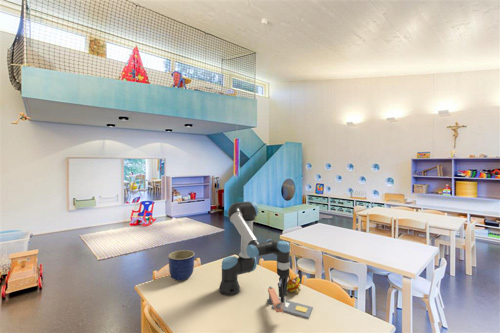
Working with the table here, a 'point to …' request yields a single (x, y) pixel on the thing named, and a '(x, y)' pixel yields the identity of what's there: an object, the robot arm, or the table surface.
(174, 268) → the planter
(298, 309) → the label board
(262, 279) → the table surface
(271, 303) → the pivot pedestal
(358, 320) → the table surface
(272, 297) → the swing arm
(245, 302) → the table surface
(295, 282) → the toy
